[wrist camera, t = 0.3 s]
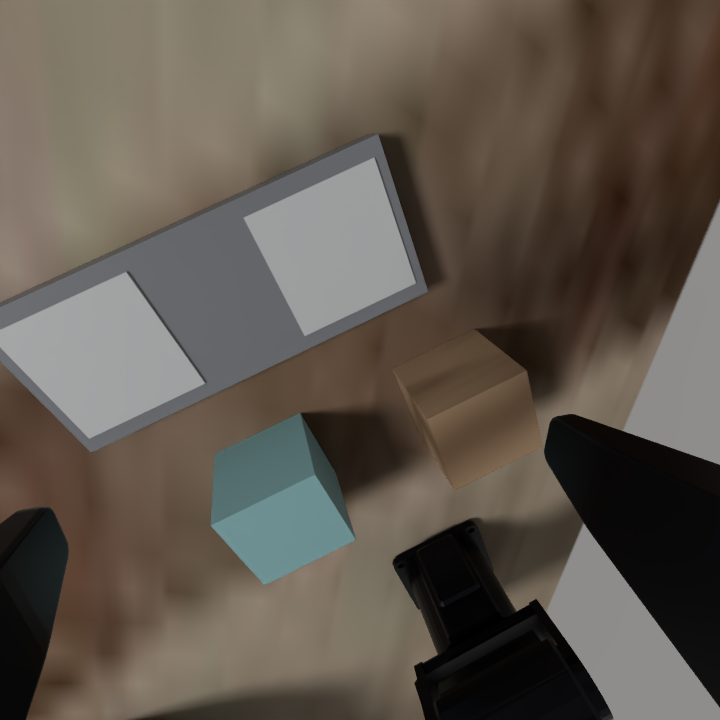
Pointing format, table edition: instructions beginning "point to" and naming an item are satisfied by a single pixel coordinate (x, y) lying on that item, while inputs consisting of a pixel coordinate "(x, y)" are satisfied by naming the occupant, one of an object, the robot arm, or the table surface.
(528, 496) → the table surface
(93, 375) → the baseplate
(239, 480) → the teal block
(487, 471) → the walnut block
